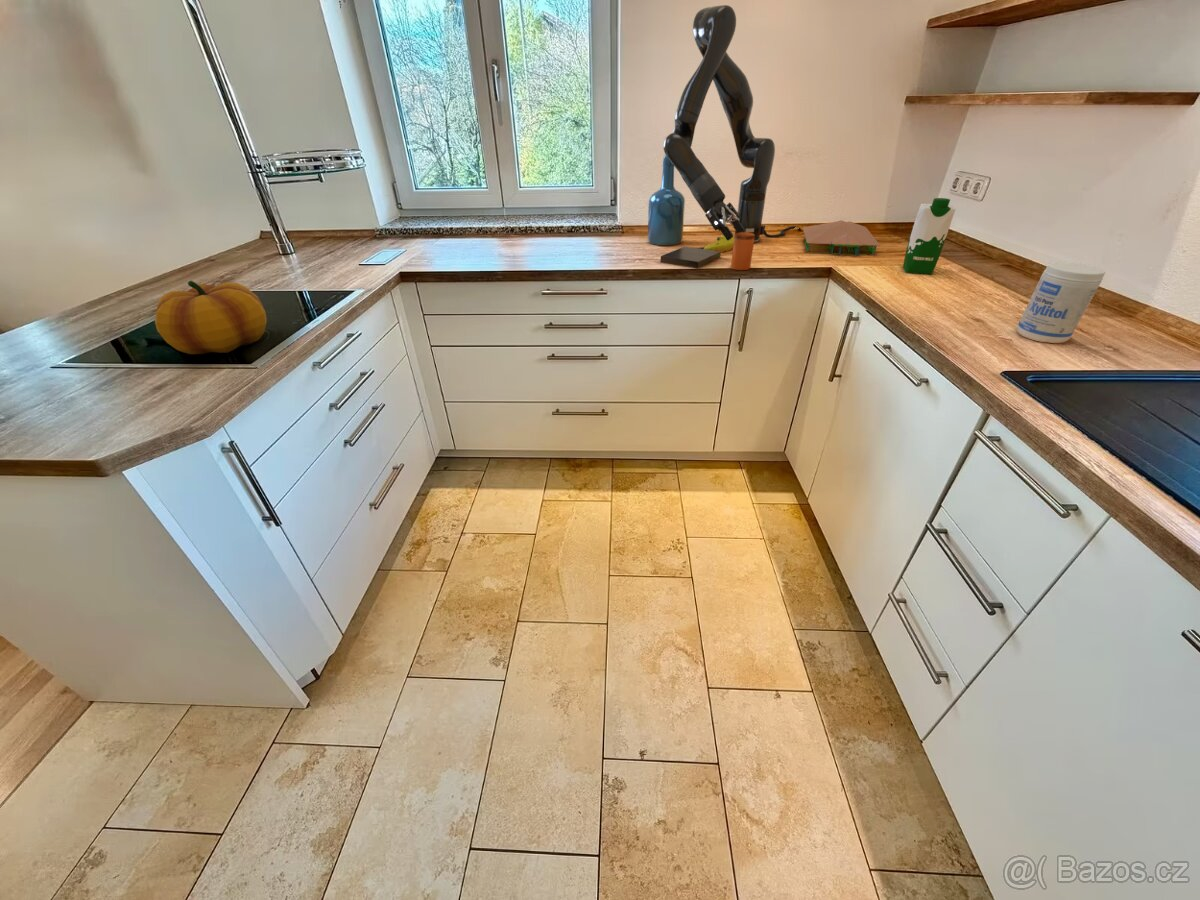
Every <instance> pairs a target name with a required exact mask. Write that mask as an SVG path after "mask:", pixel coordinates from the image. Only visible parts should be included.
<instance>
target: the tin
mask: <svg viewBox="0 0 1200 900" xmlns="http://www.w3.org/2000/svg"><path fill="white" fill-rule="evenodd" d="M733 236H734V245H733V247H732V252H731V253H732V254H731V263H730V268H731V269H732V270H736V271H747V270H750V269H751V266H752V258H753V250H754V244H755V243H754V237H755V234H753V233H748V232H739V233H735V232H734V235H733Z"/></svg>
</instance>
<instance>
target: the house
mask: <svg viewBox="0 0 1200 900" xmlns="http://www.w3.org/2000/svg"><path fill="white" fill-rule="evenodd" d="M802 230H803V234H804V245H805V248H806V252H807V253H808V254H810V253H811V254H813V253H814V254H815V253H817V252H816V250H815V252H814V249H817V251H819V249H821V247H822V245H823V246H825V248H822V250H820V252H819V253H822V251H824V249H827V250H825V251H824V253H827V252H826V251H828V254H836V255H838V254H839V256H841V253H844V252H845V251H848V252H845V253H844V255H847V254H846V253H850V254H849V256H852V254H853V256H854V257H855V256H856V257H857V256H858V255H861V256H862V255H864V256H866V253H868V252H870V253H871V254H872V256H875V253H876V250H877V247H880V246H881V245H880V243H879V242H878V241H877V240H876V238H875V237H874V236H873V234H872V233H871V232H870V230H869V229H868V228H867V226H864V225H861V224H858V223H856V222H853V221H846V220H845V221H844V220H837V221H832V222H826V223H821V224H815V225H810V226H805V227H802ZM861 246H862V247H861ZM845 247H846V249H845V250H844V248H845ZM865 247H866V248H865ZM812 248H813V249H812ZM835 248H837V249H838V252H837V253H836V250H837V249H835ZM862 248H863V249H862ZM810 249H812V250H810ZM809 250H810V252H809ZM834 250H835V252H834ZM864 251H866V252H864ZM852 252H853V253H852ZM860 252H864V253H860ZM851 253H852V254H851Z"/></svg>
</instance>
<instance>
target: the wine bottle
mask: <svg viewBox="0 0 1200 900" xmlns="http://www.w3.org/2000/svg"><path fill="white" fill-rule="evenodd" d="M664 154H665V153H664ZM661 167H662V175H661V187H659V189H658V190H656V191H655V192H654V193H652V194H651V195H650V198H649V199H648V213H647V214H648V215H647V216H648V217H647V241H648V243H650V244H652V245H655V246H675V245H678V244H681V242H682V241H683V238H684V226H685V225H684V224H685V209H686V198H685V196H684V194H683V193H682V192H681V191H679V190H678V189H676V188H675V166H674V165H673V164H672V163H671V161H670V160H669V159H668V157H667V156H666V154H665V155H664V156H663V160H662V166H661Z"/></svg>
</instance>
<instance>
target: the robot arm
mask: <svg viewBox="0 0 1200 900" xmlns="http://www.w3.org/2000/svg"><path fill="white" fill-rule="evenodd" d="M736 27H737V15H736V12H735V10H734V9H733V7H732V6H731V5H727V4H722V5H714V6H713V5H712V6H708V7H704V8H702V9H700V10H698V11H697V12H696V13H695V15H694V19H693V22H692V34H693V38H694V41H695V44H696V46H697V49H698V51H699V53H700V54H701V57H702V60H701V62H700V63H699V65H698V66H697V68H696V70H695V71H694V72H693V74H692V76H691V77H690V78H689V80H688V82H687V83H686V85H685V87H684V89H683V90H682V92H681V96H680V99H679V100H678V101H679V102H678V105H677V108H676V110H675V115H674V128H673V131H672V132H671V133H669V134H668V135H667V136H666V137H665V139H664V142H663V152H664V154H666V156H667V157H668V159H669V160H670V161H671V163H672V164H673V165H674V169H676V170H677V172H678V173H679V175H680V177H681V178H682V180H683V182H684V183H685V185H686V187H687V188H688V189H689V191H690V193H691V195H692V196H693V198H694V199H695V201H696V202H697V203H698V205H699V206H700V208H701V210H702V211H703V212H704V213H705V214H704V215H705V218H706V219H707V221H708V222H709V224H710V225H711V226H712V229H713V230H715V231H718V232H721V234H722V235H724V237H725V238H726V239H727V240H730V239H731V238H732V237H733V236H734V234H735V233H739V232H748V233H753V234H755V237H754V244H755V243H758V242H760V238H761V237H760V236H763V235H764V236H765V237H767V238H780V237H785V235H786V232H788V231H790V230H795V229H794V228H795V227H796V226H797V225H792V226H789V227H785V228H783V229H781V230H780V233H777V234H769V233H767V231H766V225H764V224H762V223H763V216H764V209H765V203H766V196H767V191H768V190H767V189H768V185H769V184H770V180H771V176H772V170H773V166H774V160H775V156H776V154H775V153H776V146H775V143H774V140H773V139H771V138H768V137H755V136H754V134H753V132H752V129H751V125H750V119H751V114H752V111H753V107H754V97H753V93H752V90H751V89H752V88H751V87H750V83H749V80H748V77H747V76H746V74H745V73H744V72H743V70H742V69H741V67H740V66H738V64H737V63H736V62H735V61H734V60H733V59H732V58H731V56H730V55H729V54H728V52H727V51H728V49H729V47H730V45H731V43H732V40H733V37H734V35H735V32H736ZM712 82H713V83H714V86H715V89H716V91H717V94H718V97H719V101H720V103H721V106H722V110H723V111H724V113H725V116H726V119H727V121H728V124H729V128H730V130H731V133H732V136H733V141H734V144H735V149H736V152H737V157H738V159H739V162H740V164H741V165H742V166H743V167H744V168H748V169H753V170H752V174H751V176H750V177H749V178H745V179H743V180H742V181H741V182H740V186H739V187H740V188H739V195H738V202H737V203H738V204H737V209H736V208H735V207H734V205H733V204H732V203H731V202H728V203H727V204H726V203H725V202H724V200H725V199H726V194H725V193H724V191H723V190H722V189H721V187H720V186H719V184H718V183H717V181H716V180H715V178H714V177H713V176H712V174H710V173H709V171H708V169H707V168H706V166H705V164H703V162H702V161H701V160H700V159H699V158H698V157H697V155H696V154H695V152H694V151H693V149H692V145H693V140H694V136H695V132H696V126H697V123H698V121H699V118H700V114H701V112H702V108H703V106H704V102H705V100H706V96H707V95H708V92H709V89H710V87H711V85H712ZM727 224H730V225H731V226H732V227H733V229H734V233H732V231H731V229H730V228H729V226H728V225H727ZM796 230H797V231H798V232H802V229H801V227H799V229H796Z"/></svg>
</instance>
